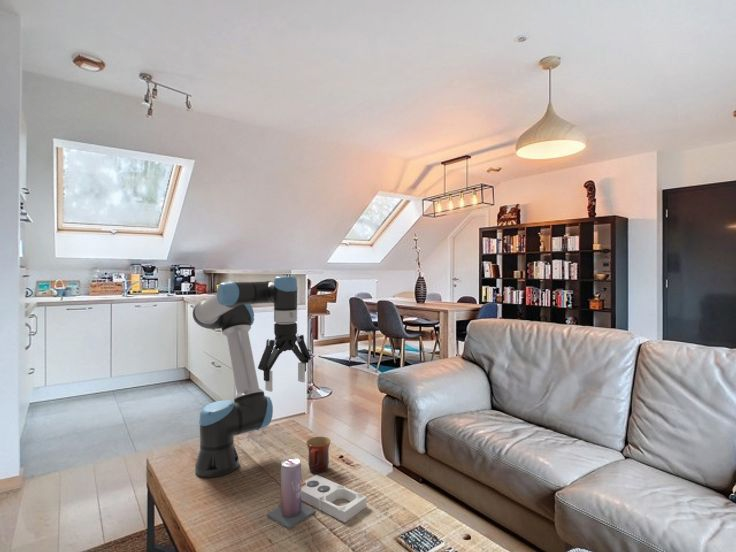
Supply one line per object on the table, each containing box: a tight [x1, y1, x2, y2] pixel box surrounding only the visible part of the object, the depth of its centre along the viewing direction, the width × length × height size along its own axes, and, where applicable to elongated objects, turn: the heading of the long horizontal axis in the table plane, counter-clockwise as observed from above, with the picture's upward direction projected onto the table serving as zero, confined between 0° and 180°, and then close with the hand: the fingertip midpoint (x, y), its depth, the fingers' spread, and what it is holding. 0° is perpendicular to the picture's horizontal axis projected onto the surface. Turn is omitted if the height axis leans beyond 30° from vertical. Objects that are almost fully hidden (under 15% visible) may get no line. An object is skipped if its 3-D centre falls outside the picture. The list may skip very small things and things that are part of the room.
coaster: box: [266, 502, 316, 530], centre depth 121 cm, size 10×10×1 cm
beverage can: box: [280, 457, 302, 517], centre depth 121 cm, size 6×6×15 cm
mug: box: [305, 435, 331, 474], centre depth 147 cm, size 12×9×10 cm
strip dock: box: [301, 474, 368, 523], centre depth 130 cm, size 30×11×4 cm, turn 51°
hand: (285, 386), depth 136 cm, fingers open, 13 cm apart
